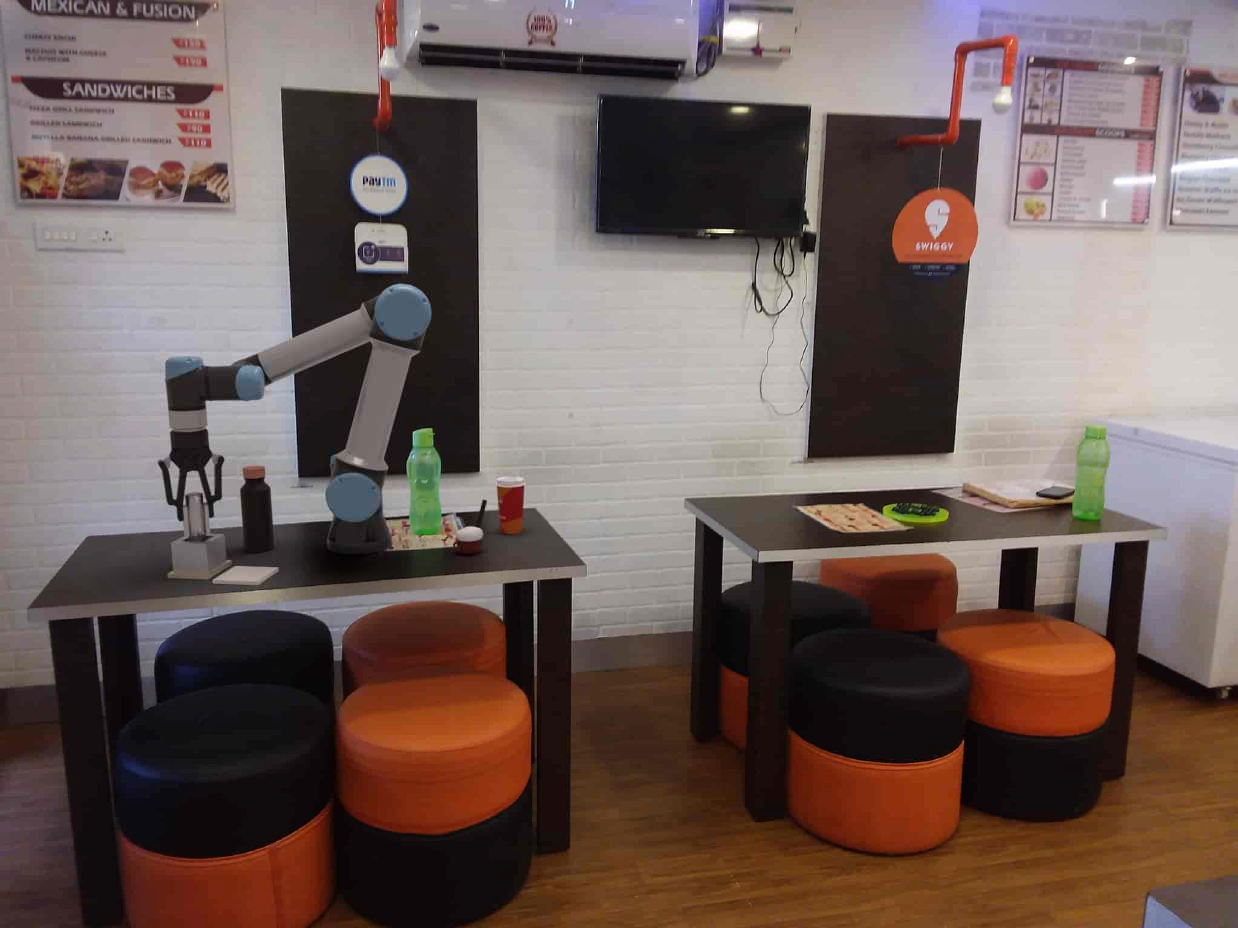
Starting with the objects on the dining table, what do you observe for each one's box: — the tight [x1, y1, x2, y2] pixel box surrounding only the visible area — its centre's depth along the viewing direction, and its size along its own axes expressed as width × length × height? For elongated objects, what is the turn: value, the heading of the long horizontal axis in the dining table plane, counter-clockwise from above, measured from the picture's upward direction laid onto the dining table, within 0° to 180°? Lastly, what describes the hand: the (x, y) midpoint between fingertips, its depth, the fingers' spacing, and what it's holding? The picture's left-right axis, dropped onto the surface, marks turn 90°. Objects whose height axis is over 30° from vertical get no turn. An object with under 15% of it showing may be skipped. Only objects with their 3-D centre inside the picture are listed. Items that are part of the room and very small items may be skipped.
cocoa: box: [452, 499, 488, 556], centre depth 224 cm, size 10×6×12 cm, turn 111°
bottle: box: [239, 465, 275, 553], centre depth 225 cm, size 7×7×20 cm
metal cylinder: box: [184, 491, 206, 542], centre depth 208 cm, size 4×4×13 cm
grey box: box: [166, 533, 233, 581], centre depth 211 cm, size 9×16×8 cm, turn 175°
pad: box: [212, 565, 279, 586], centre depth 206 cm, size 10×10×1 cm
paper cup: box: [495, 476, 527, 536], centre depth 242 cm, size 8×8×14 cm
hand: (197, 533), depth 208 cm, fingers closed on metal cylinder, 3 cm apart
